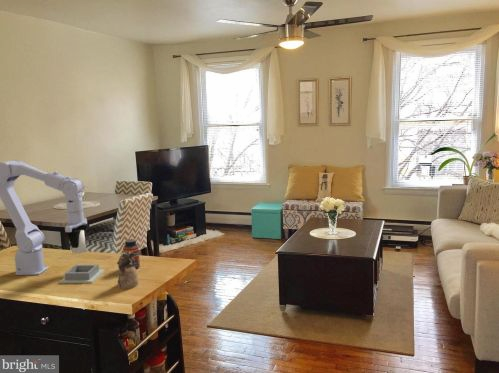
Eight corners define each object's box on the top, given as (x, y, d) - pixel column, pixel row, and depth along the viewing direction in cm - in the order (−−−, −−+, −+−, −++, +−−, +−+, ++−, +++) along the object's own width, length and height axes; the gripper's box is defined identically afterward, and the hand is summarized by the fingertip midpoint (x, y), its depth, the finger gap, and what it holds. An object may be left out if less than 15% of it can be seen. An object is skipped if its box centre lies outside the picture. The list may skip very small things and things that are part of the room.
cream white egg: (69, 253, 164) (67, 233, 163) (75, 249, 169) (73, 229, 168) (82, 253, 164) (80, 233, 162) (88, 249, 169) (86, 229, 167)
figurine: (120, 281, 156) (117, 249, 154) (140, 280, 156) (137, 248, 154) (115, 289, 149) (113, 256, 147) (136, 288, 149) (134, 255, 147)
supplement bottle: (135, 271, 166) (133, 242, 164) (121, 270, 167) (119, 242, 166) (142, 265, 172) (140, 238, 170) (128, 265, 173) (126, 238, 171)
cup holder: (59, 283, 156) (58, 274, 156) (74, 271, 168) (73, 263, 167) (91, 282, 155) (91, 274, 155) (104, 271, 167) (103, 263, 167)
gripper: (77, 215, 156) (80, 251, 159) (93, 206, 171) (96, 239, 173) (58, 215, 157) (61, 251, 159) (75, 207, 171) (78, 240, 173)
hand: (78, 245), depth 166 cm, fingers closed on cream white egg, 5 cm apart
